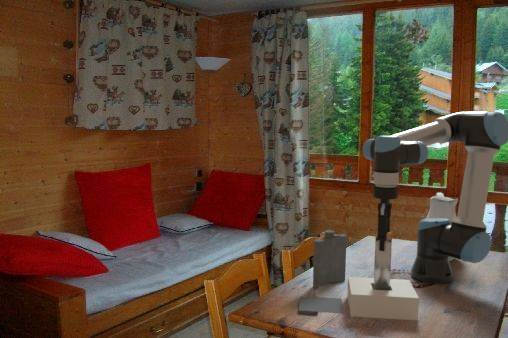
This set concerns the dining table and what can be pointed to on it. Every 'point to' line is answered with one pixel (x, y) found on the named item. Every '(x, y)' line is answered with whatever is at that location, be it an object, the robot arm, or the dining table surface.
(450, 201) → the pitcher
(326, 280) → the hip flask
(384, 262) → the steel plug
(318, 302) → the slate mat
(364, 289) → the bore block
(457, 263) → the dining table surface
